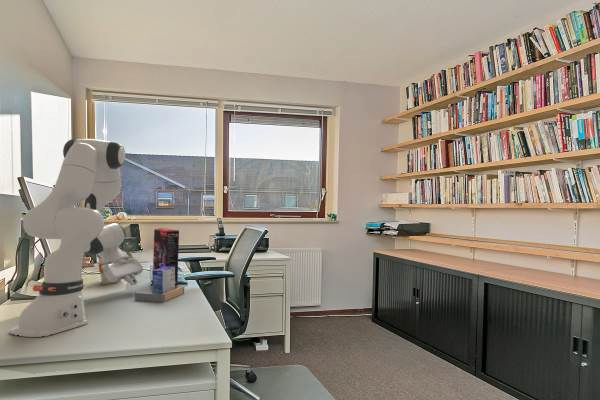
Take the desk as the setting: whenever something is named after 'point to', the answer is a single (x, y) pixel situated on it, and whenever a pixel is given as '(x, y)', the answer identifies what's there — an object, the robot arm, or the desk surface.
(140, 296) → the u-shaped bracket
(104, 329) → the desk surface
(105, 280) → the reusable coffee cup
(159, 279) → the ink cartridge box
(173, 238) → the graphics card box
